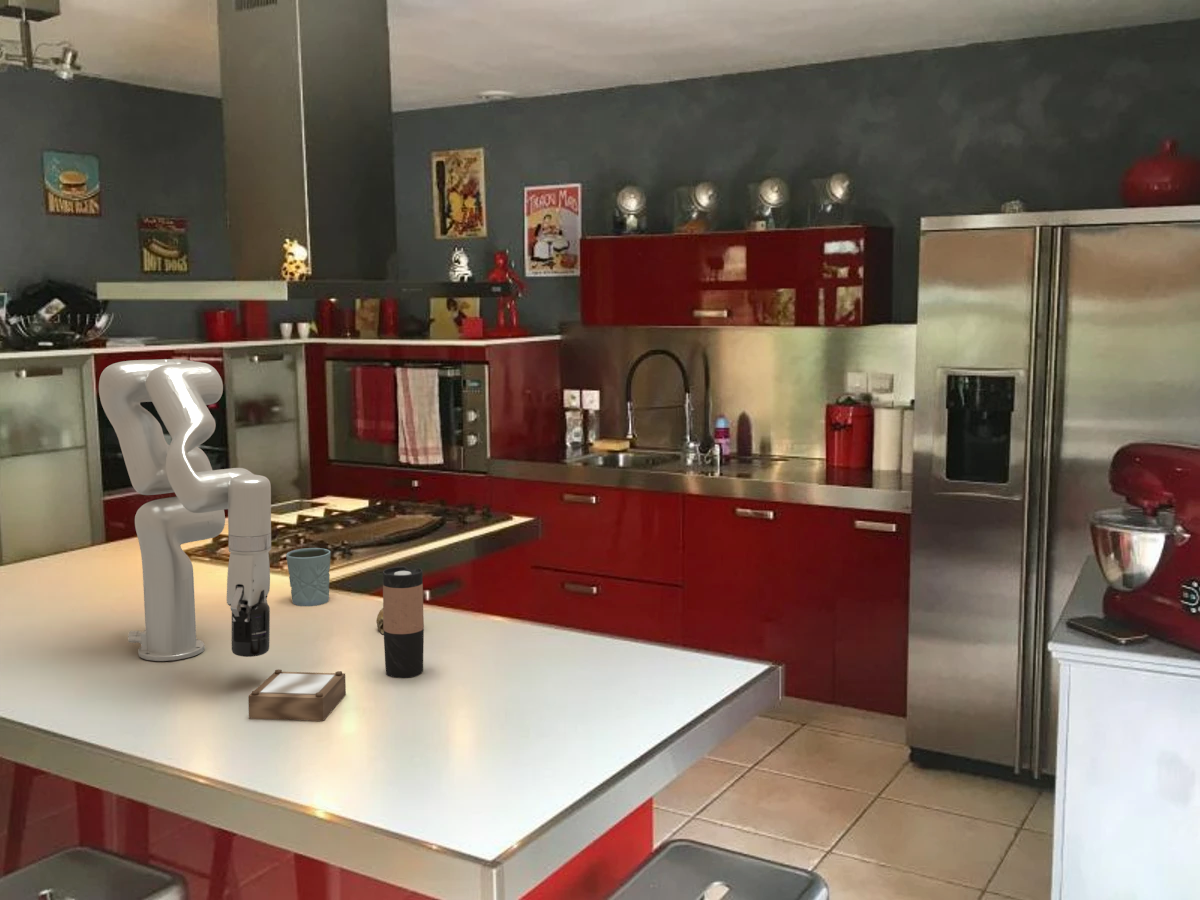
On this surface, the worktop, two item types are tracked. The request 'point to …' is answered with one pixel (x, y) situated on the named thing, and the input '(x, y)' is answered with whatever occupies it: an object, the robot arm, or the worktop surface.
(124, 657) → the worktop surface
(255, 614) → the supplement bottle
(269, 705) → the walnut base block
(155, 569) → the robot arm
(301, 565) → the drinking glass
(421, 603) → the travel mug
